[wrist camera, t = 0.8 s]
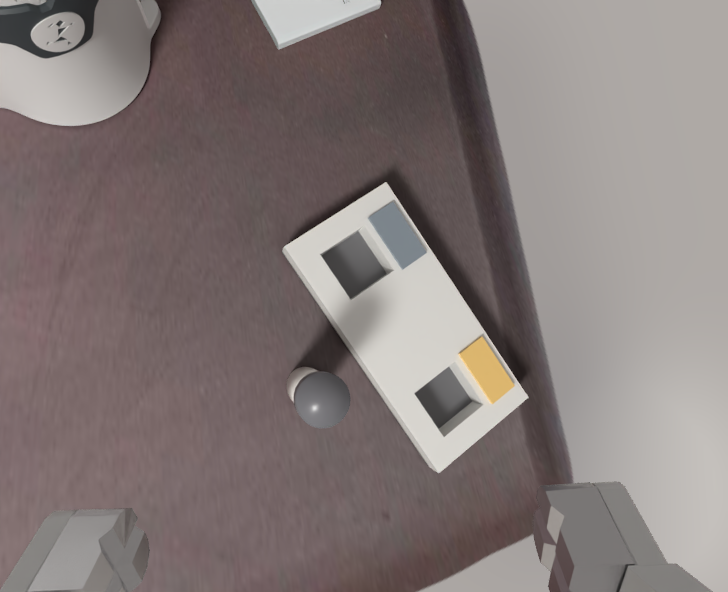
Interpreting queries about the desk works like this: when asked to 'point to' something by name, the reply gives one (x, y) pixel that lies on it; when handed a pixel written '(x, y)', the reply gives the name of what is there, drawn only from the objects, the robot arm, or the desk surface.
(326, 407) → the grey capped white cylinder
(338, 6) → the external hard drive
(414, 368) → the socket board
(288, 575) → the desk surface
